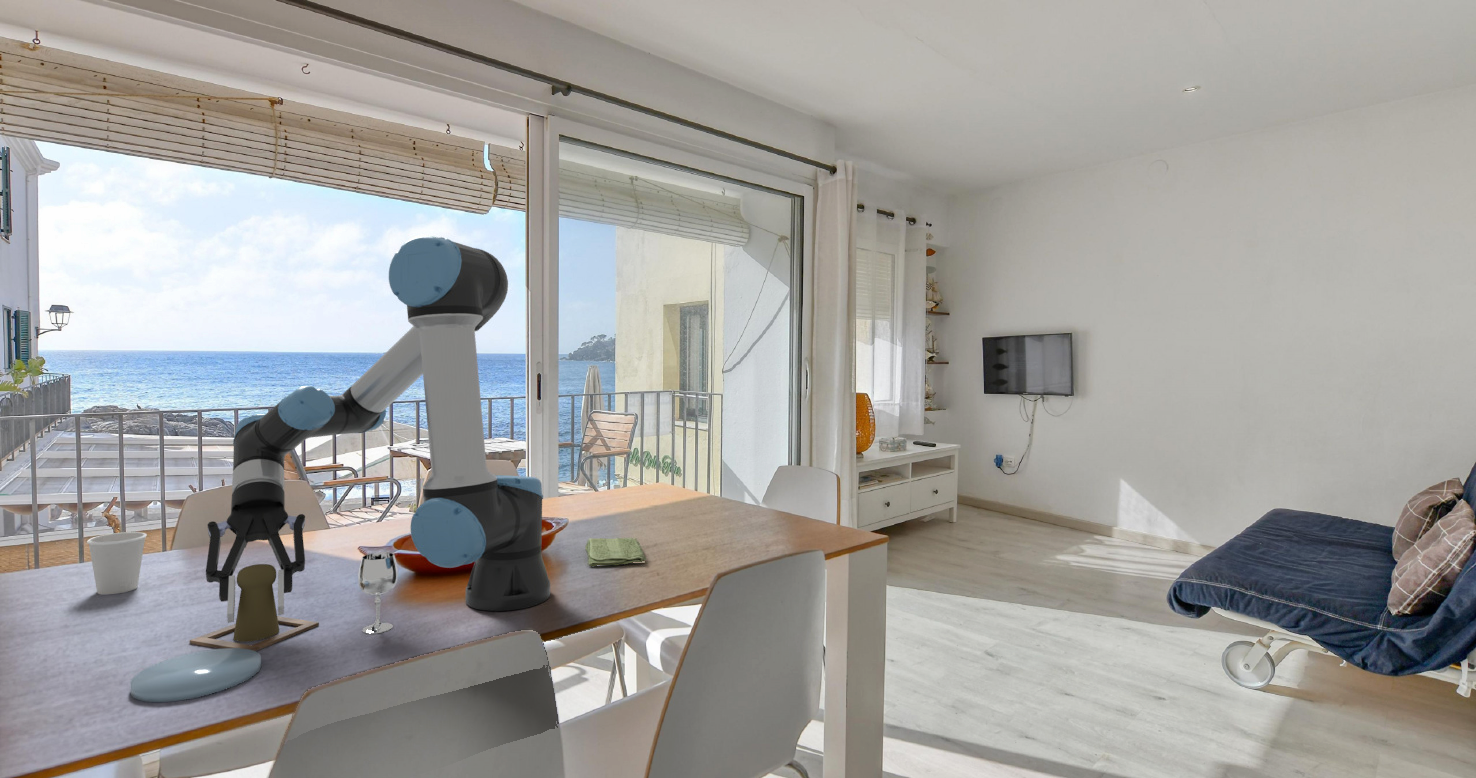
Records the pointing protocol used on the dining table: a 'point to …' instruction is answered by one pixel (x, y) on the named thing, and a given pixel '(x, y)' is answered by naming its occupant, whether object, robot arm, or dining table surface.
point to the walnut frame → (211, 642)
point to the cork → (256, 604)
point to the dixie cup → (117, 561)
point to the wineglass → (377, 583)
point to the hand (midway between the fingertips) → (256, 613)
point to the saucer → (195, 675)
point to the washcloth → (613, 551)
